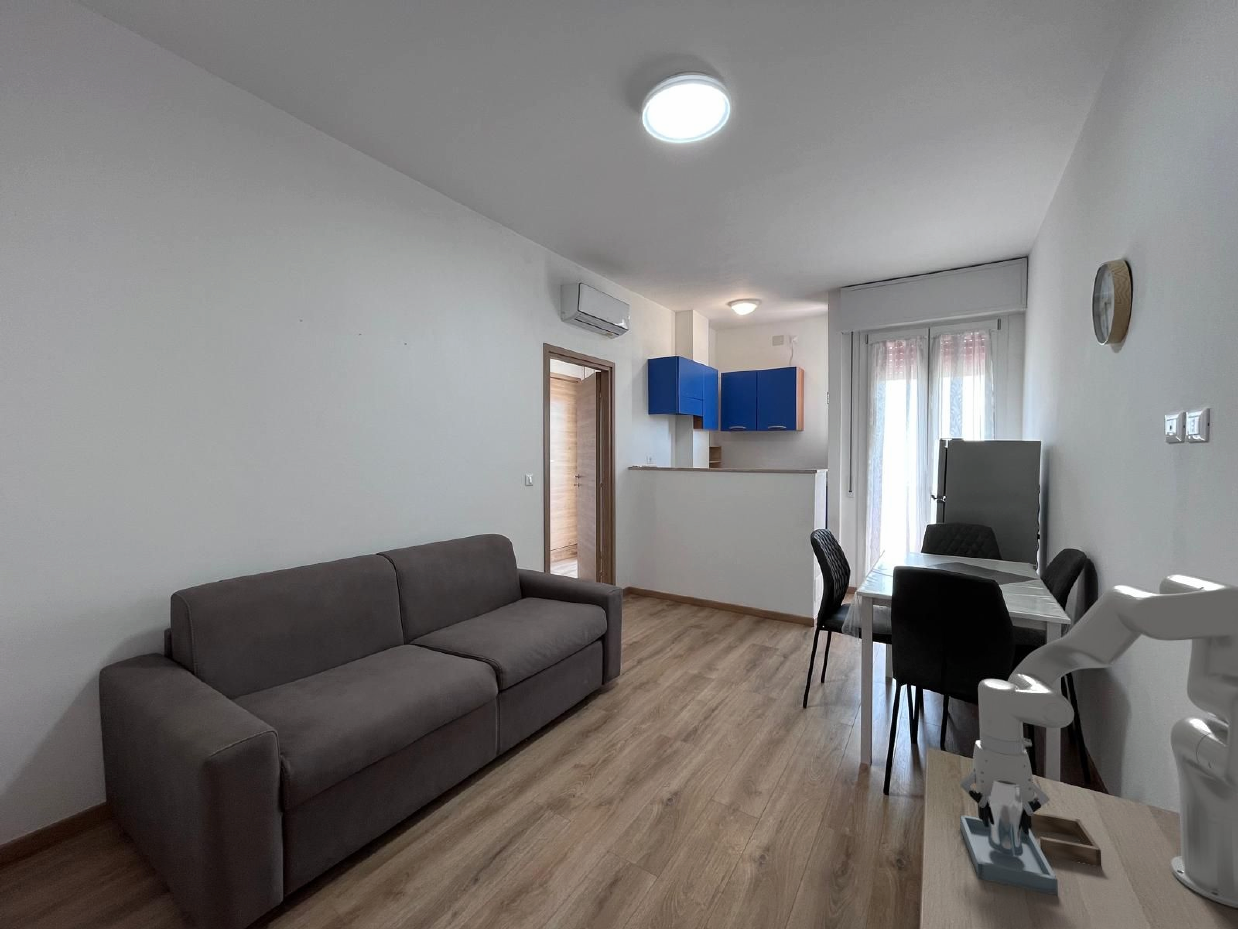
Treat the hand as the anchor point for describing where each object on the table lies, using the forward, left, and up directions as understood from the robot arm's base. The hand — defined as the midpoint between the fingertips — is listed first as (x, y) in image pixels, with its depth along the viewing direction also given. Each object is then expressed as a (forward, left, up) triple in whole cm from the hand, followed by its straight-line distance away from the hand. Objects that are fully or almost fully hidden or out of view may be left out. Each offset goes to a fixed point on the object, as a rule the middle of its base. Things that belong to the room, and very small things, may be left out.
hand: (1004, 826), depth 113 cm
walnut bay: (-12, -8, -7) cm, 16 cm away
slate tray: (0, 0, -7) cm, 7 cm away
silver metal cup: (0, 0, -5) cm, 5 cm away
